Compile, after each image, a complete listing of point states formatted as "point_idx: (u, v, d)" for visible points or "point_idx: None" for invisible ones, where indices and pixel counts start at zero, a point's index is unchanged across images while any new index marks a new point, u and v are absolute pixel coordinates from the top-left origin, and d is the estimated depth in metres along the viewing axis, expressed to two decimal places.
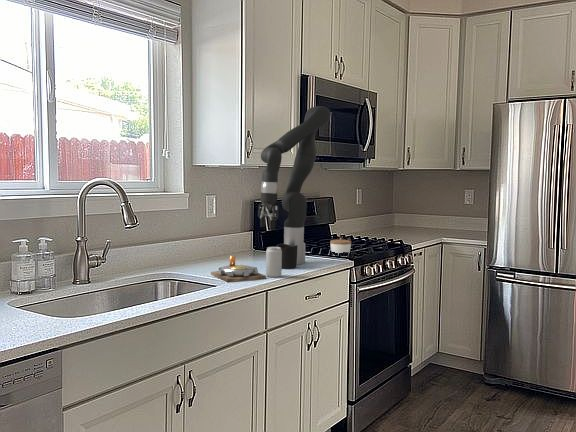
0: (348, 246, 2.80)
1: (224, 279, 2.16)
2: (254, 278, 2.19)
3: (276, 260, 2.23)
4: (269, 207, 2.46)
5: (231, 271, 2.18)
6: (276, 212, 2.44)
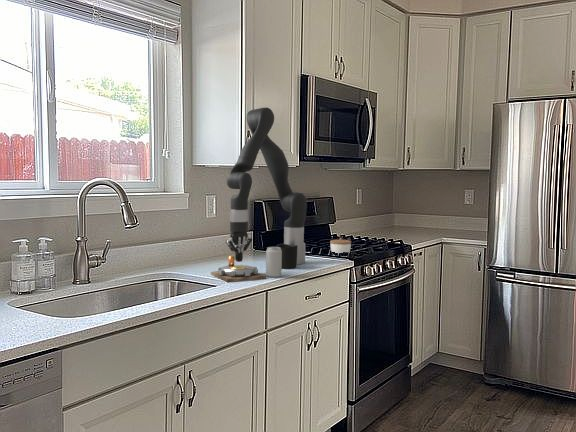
0: (348, 246, 2.80)
1: (224, 279, 2.16)
2: (254, 278, 2.19)
3: (276, 260, 2.23)
4: (245, 235, 2.31)
5: (232, 271, 2.18)
6: None
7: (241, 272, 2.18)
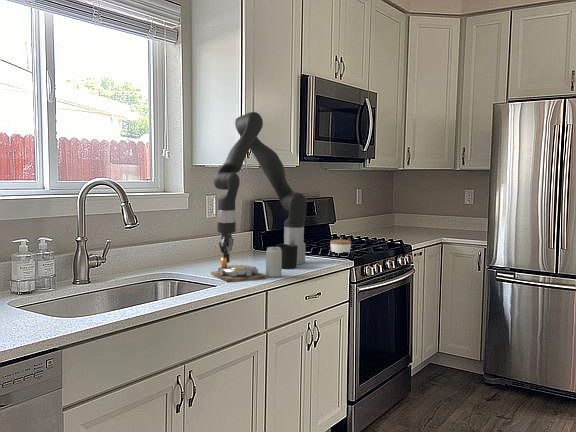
0: (348, 246, 2.80)
1: (224, 279, 2.16)
2: (254, 278, 2.19)
3: (276, 260, 2.23)
4: (231, 236, 2.30)
5: (247, 271, 2.19)
6: None
7: (253, 270, 2.22)
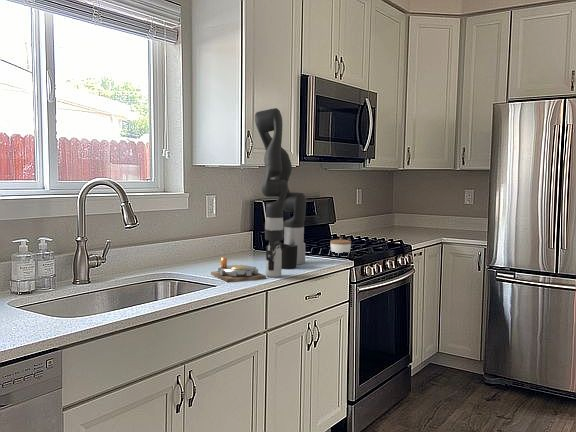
0: (348, 246, 2.80)
1: (224, 279, 2.16)
2: (254, 278, 2.19)
3: (276, 260, 2.23)
4: (278, 243, 2.28)
5: (247, 271, 2.19)
6: None
7: (253, 270, 2.22)
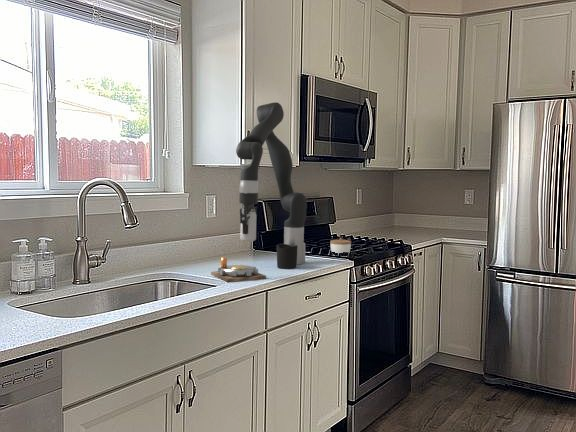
0: (348, 246, 2.80)
1: (224, 279, 2.16)
2: (254, 278, 2.19)
3: (250, 224, 2.20)
4: None
5: (247, 271, 2.19)
6: None
7: (253, 270, 2.22)
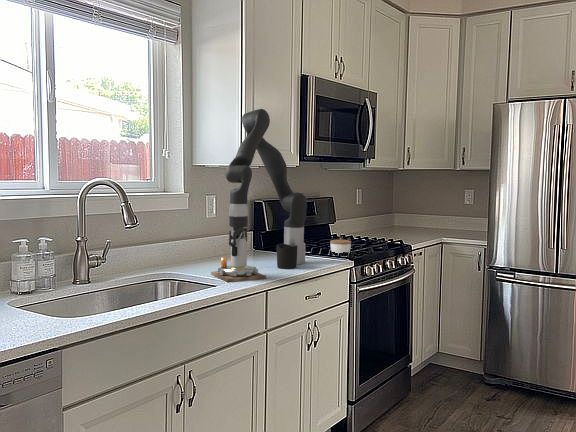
0: (348, 246, 2.80)
1: (224, 279, 2.16)
2: (254, 278, 2.19)
3: (241, 251, 2.21)
4: None
5: (247, 271, 2.19)
6: None
7: (253, 270, 2.22)
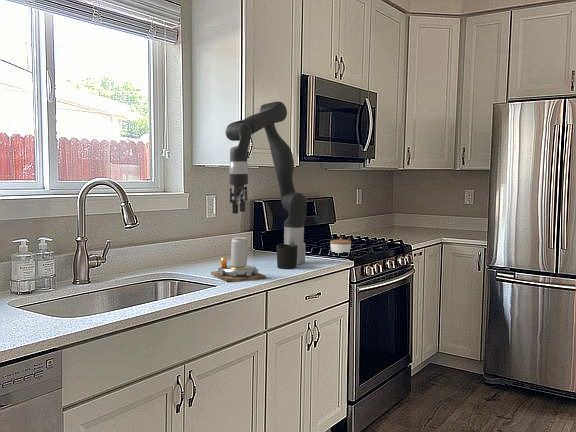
0: (348, 246, 2.80)
1: (224, 279, 2.16)
2: (254, 278, 2.19)
3: (241, 250, 2.21)
4: (243, 189, 2.27)
5: (247, 271, 2.19)
6: None
7: (253, 270, 2.22)
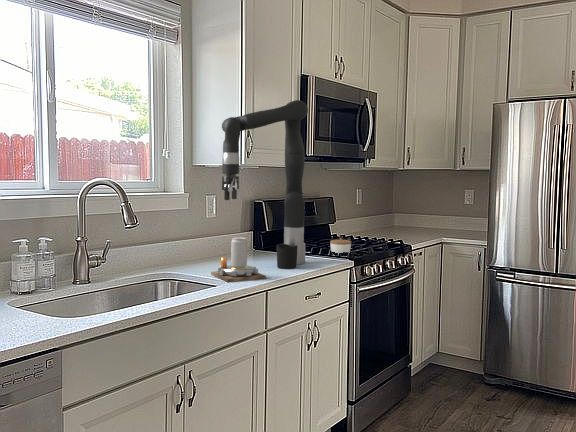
0: (348, 246, 2.80)
1: (224, 279, 2.16)
2: (254, 278, 2.19)
3: (241, 251, 2.21)
4: None
5: (247, 271, 2.19)
6: None
7: (253, 270, 2.22)
